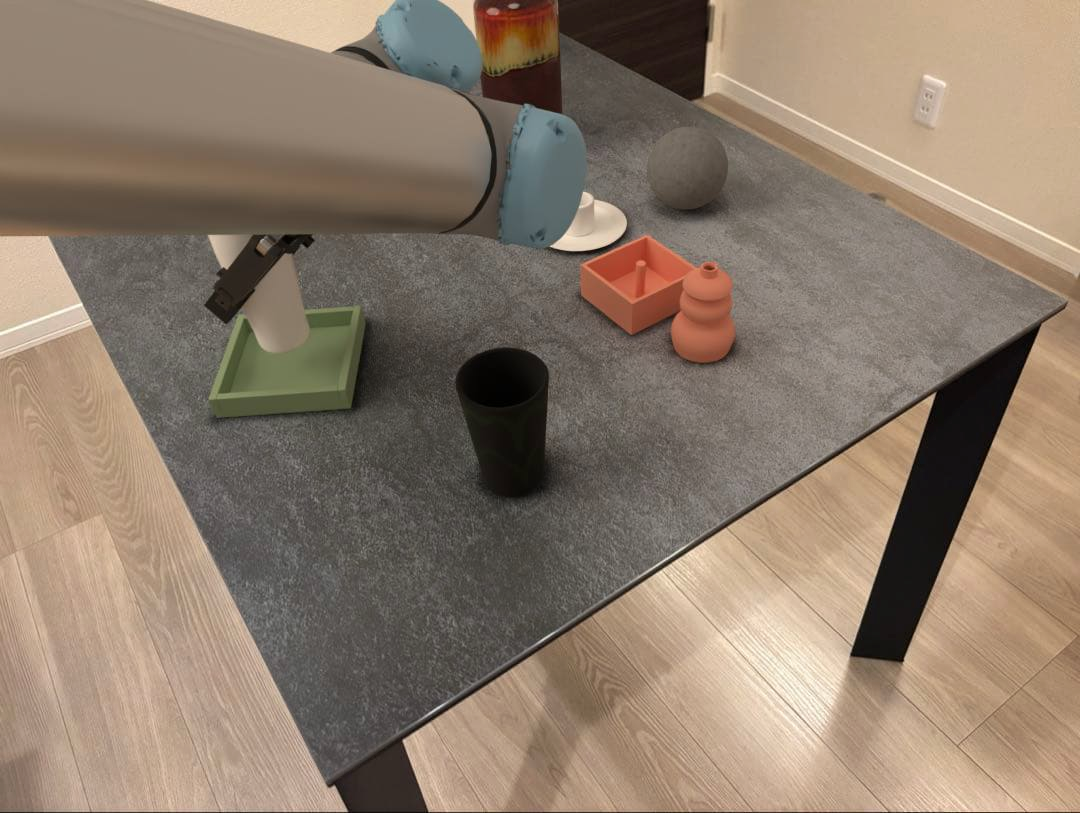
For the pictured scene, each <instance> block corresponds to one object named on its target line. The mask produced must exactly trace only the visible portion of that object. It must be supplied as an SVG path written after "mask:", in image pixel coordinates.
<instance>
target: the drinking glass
mask: <svg viewBox="0 0 1080 813" xmlns="http://www.w3.org/2000/svg"><path fill="white" fill-rule="evenodd" d="M207 237H208V240H209V243H210V246H211V248H212V251H213V253H214V255H215V258H216V260H217V262H218V264H219V267H220V269H222V268H223V267H224V268H225V269H228V268H229V267H230V265H231V264H232V263H233V261H234V260H235V259H236V258H237V256H238V255H239V254H240V252H241V251H242V250H243V249H244V247H245V246H246V245H247V243H248V241H249V240H250V238H251V237H252V235H207ZM254 289H255V292H254V293H253V294H252V295H251V297H250V298H249V299H248V300H247V301H246V303H245V304H244V305H243V306H242V307H241V310H242V311H243V314H245V315H246V317H247V319H248V321H249V323H250V325H251V327H252V329H253V332H254V334H255V337H256V339H257V342H258V344H259V345H260V347H261V348H262V349H263V350H265V351H267V352H270V353H275V354H281V353H288V352H291V351H294V350H296V349H298V348H299V347H301V346H302V345H303V344H304V343H305V342H306V341H307V340H308V338H309V335H310V327H309V324H308V321H307V317H306V314H305V310H306V309H305V306H304V301H303V297H302V293H301V289H300V284H299V278H298V274H297V269H296V265H295V260H294V255H293V254H286V253H285V254H284V255H283V256H282V257H281V259H280V260H279V261H278V262H277V263H276V264H275V265H274V267H273V268H272V269H271V270H270V271H269V272H268V273H267V274H266V276H265V277H264V278H263V279H262V280H261V281H260V282H259V284H258V285H257V286H256V287H255V288H254Z"/></svg>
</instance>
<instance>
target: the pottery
mask: <svg viewBox="0 0 1080 813" xmlns="http://www.w3.org/2000/svg"><path fill="white" fill-rule="evenodd" d="M579 267H580V294H581V295H580V296H581V297H582V298H584V299H585V300H586V301H587V302H589V303H590V304H592V305H593V306H594V307H595V308H596V309H597V310H599V311H600V312H601V313H603V315H605V316H606V317H608V318H609V319H610V320H611V321H613V322H614V323H615V324H616V325H617V326H619V327H620V328H622V329H623V330H624V331H625V332H626V333H628V334H629V335H630V336H634V335H636V334H638V333H640V332H641V331H644V330H645V329H647V328H649V327H651V326H653V325H655V324H657V323H659V322H661V321H663V320H665V319H667V318H668V317H671V316H673V315H675V314H676V315H675V317H674V318H673V320H672V323H671V327H670V337H671V341H672V345H673V349H674V351H675V353H677V355H679V356H680V357H681V358H682V359H685V360H687V361H690V362H694V363H701V364H702V363H703V364H704V363H706V364H708V363H714V362H717V361H719V360H721V359H724V357H726V356H727V355H728V353H729V352H730V349H731V348H732V346H733V343H734V341H735V337H736V327H735V324H734V320H733V318H732V317H731V315H730V313H731V310H732V308H733V298H732V294H731V293H732V292H733V289H734V284H733V279H732V277H731V276H730V275H729V273H727V272H726V271H724V270H722V269H721V268H719V265H718V263H716V262H712V261H705V262H702V263H701V264H700V267H696V266H695V265H693V264H692V263H690V262H689V261H688V260H686V259H684V258H683V257H682V256H680V255H678V254H677V253H676V252H674V251H673V250H671V249H670V248H669V247H666V246H665V245H663V244H662V243H660V241H657V240H656V239H654V237H652V236H650V235H649V234H645V235H642V236H641V237H639V238H636V239H634V240H632V241H630V242H627V243H625V244H623V245H620V246H619V247H616V248H614V249H612V250H610V251H608V252H605V253H603V254H601V255H599V256H596V257H595V258H591V259H590V260H588V261H586V262H583V263H581V264H580V266H579Z"/></svg>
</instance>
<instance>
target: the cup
mask: <svg viewBox="0 0 1080 813" xmlns="http://www.w3.org/2000/svg"><path fill="white" fill-rule="evenodd" d="M549 384H550V372H549V368H548V366H547V364H546V363H545V362H544V360H543V359H542V358H540V357H539V356H538V355H536V354H535V353H533V352H530V351H529V350H526V349H522V348H519V347H508V346H505V347H495V348H490V349H486V350H483V351H481V352H479V353H477V354H475V355H473V356H471V357H470V358H468V359H467V360H466V361H465V362H464V363H463V364H462V365H461V366H460V367H459V369H458V371H457V373H456V375H455V380H454V385H455V390H456V394H457V397H458V401H459V403H460V407H461V410H462V413H463V416H464V420H465V423H466V426H467V430H468V433H469V436H470V440H471V443H472V446H473V450H474V453H475V455H476V456H475V457H476V459H477V463H478V465H479V469H480V472H481V476H482V478H483V482H484V484H485V487H487V488H488V490H489V491H490V492H492V493H493V494H494V495H497V496H500V497H502V498H512V499H513V498H520V497H524V496H527V495H529V494H531V493H533V492H534V491H536V490H537V489H538V488H539V487H540V486H541V484H542V482H543V480H544V476H545V463H546V462H545V461H546V446H547V444H546V442H547V425H548V404H549V403H548V402H549V388H550V385H549Z"/></svg>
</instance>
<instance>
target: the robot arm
mask: <svg viewBox="0 0 1080 813" xmlns="http://www.w3.org/2000/svg"><path fill="white" fill-rule="evenodd" d="M481 72H482V55H481V51H480V48H479V45H478V43H477V40H476V35H474V33H473V32H472V30H471V29H470V28H469V27H468V26H467V24H465V22H464V20H463V19H462V17H460V15H459V14H458V13H457V12H455V10H453V9H452V8H451V7H450V6H448V5H447V4H445V3H444V2H442V1H440V0H394V1H393V3H392V4H391V5H390V6H389V7H388V9H387V10H386V11H385V12H384V13H383V14H380V15H378V17H377V18H376V21H375V24H374V27H373V29H372V30H371V31H370V32H369V33H368V34H367V35H365V36H364V37H363V38H361V39H359V40H356V41H354V42H351V43H348V44H345V45H343V46H341V47H338V48H337V49H335V50H333V51H331V52H329V51H326V50H322V49H318V48H314V47H311V46H309V45H308V46H307V45H304V44H301V43H298V42H294V41H291V40H287V39H283V38H280V37H277V36H273V35H270V34H265V33H263V32H259V31H256V30H252V29H249V28H246V27H242V26H238V25H235V24H231V23H228V22H225V21H220V20H217V19H214V18H211V17H208V16H207V17H206V16H204V15H201V14H197V13H193V12H190V11H186V10H183V9H180V8H177V7H172V6H168V5H165V4H162V3H158V2H155V1H152V0H0V237H111V236H112V237H114V236H117V237H119V236H123V237H125V236H127V237H128V236H129V237H130V236H208V235H252V237H251V238H250V240H249V241H248V243H247V245H246V246H245V247H244V249H243V250H242V251H241V252H240V254H239V255H238V256H237V258H236V259H235V260H234V261H233V263H232V264H231V265H230V267H229V268H228V269H225V268H224V267H223V268H222V269H221V268H220V269H219V270H218V271H217V272H216V273H215V276H217V277H218V278H219V279H218V280H216V281H215V282H214V285H213V286H212V290H214V291H213V293H211V295H210V297H209V298H208V299H207V300H206V302H205V303H204V304H203V306H204V307H205V308H206V310H208V311H210V312H211V313H212V314H213V315H214V316H215V317H216V318H218V319H219V320H220V322H222V323H224V324H225V325H228V324H229V323H230V322H231V321H232V320H233V319H234V317H235V316H236V315H237V314H238V312H239V311H240V310H242V308H241V307H242V306H243V305H244V304H245V303H246V301H247V300H248V299H249V298H250V297H251V295H252V294H253V293H254V292H255V289H254V288H255V287H256V286H257V285H258V284H259V282H260V281H261V280H262V279H263V278H264V277H265V276H266V274H267V273H268V272H269V271H270V270H271V269H272V268H273V267H274V265H275V264H276V263H277V262H278V261H279V260H280V259H281V257H282V256H283V255H284V254H285V253H286V254H293V256H294V255H295V254H296V253H297V251H298V250H299V249H300V248H301V245H302V246H303V247H304V248H305V249H309V248H310V247H311V246H312V245H313V243H314V242H315V241H316V239H315V238H313V237H312V236H314V235H360V234H361V235H371V234H373V235H376V234H377V235H379V234H381V235H382V234H383V235H385V234H387V235H389V234H395V235H396V234H434V235H435V234H436V235H469V236H476V237H481V238H486V239H489V240H494V241H497V242H498V244H500V245H503V246H509V245H516V246H521V247H525V248H530V249H547V248H550V247H549V246H551V245H553V244H554V243H556V242H557V241H558V240H559V239H561V238H562V237H563V235H564V234H565V233H566V232H567V230H568V229H569V227H570V226H571V224H572V222H573V220H574V218H575V216H576V213H577V211H578V208H579V205H580V202H581V198H582V193H583V191H584V189H585V183H586V176H587V170H588V169H587V168H588V167H587V166H588V164H587V163H588V161H587V160H588V159H587V157H588V156H587V155H588V154H587V147H586V143H585V139H584V136H583V133H582V131H581V130H580V127H579V126H578V125H577V123H576V122H575V121H574V120H573V119H572V118H570V117H569V116H567V115H565V114H563V113H562V114H558V113H554V112H550V111H546V110H542V109H538V108H535V107H534V105H530V104H524V105H517V104H512V103H507V102H502V101H497V100H493V99H488V98H484V97H483V96H480V95H477V94H473V93H471V92H472V91H473V89H474V88H475V87H476V86H477V84H478V82H479V81H480V80H481V78H480V76H481Z"/></svg>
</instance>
